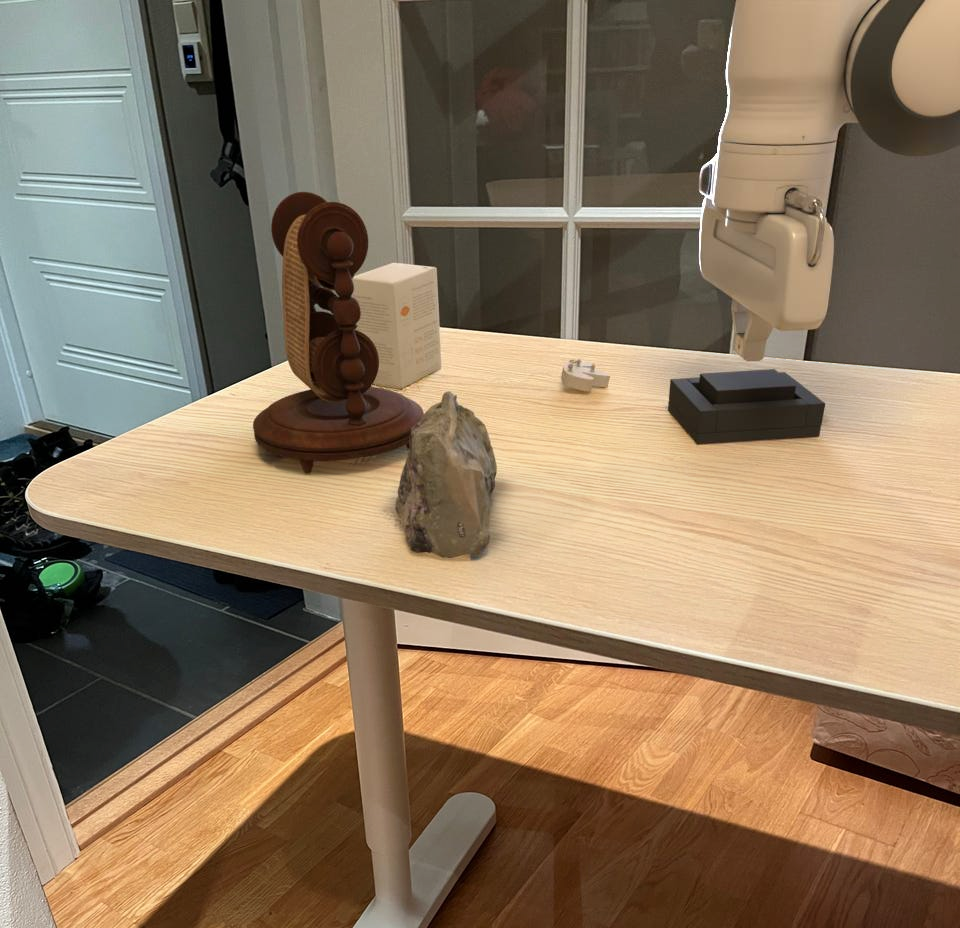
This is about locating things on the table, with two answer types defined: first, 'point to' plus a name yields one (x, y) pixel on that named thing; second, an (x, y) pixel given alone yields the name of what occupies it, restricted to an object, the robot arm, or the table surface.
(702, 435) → the socket pad
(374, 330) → the small box
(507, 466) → the table surface
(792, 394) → the black rectangular block
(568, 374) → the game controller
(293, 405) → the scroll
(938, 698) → the table surface
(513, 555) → the table surface
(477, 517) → the mineral rock
